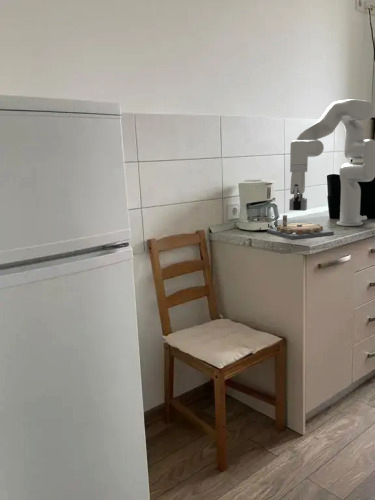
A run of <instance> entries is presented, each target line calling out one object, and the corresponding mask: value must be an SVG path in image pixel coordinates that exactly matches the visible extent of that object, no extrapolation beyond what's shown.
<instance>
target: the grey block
mask: <svg viewBox="0 0 375 500" xmlns="http://www.w3.org/2000/svg"><path fill="white" fill-rule="evenodd" d="M293 201H294V196H293V197H291V198H290V199H289V206H288V207H289V210H288V211H294V210H293ZM300 201H301V210H298V211H300V212H301V211H303V212H304V211H306V210H307V209H308V198H305V196H303V197H302V198H300Z"/></svg>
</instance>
